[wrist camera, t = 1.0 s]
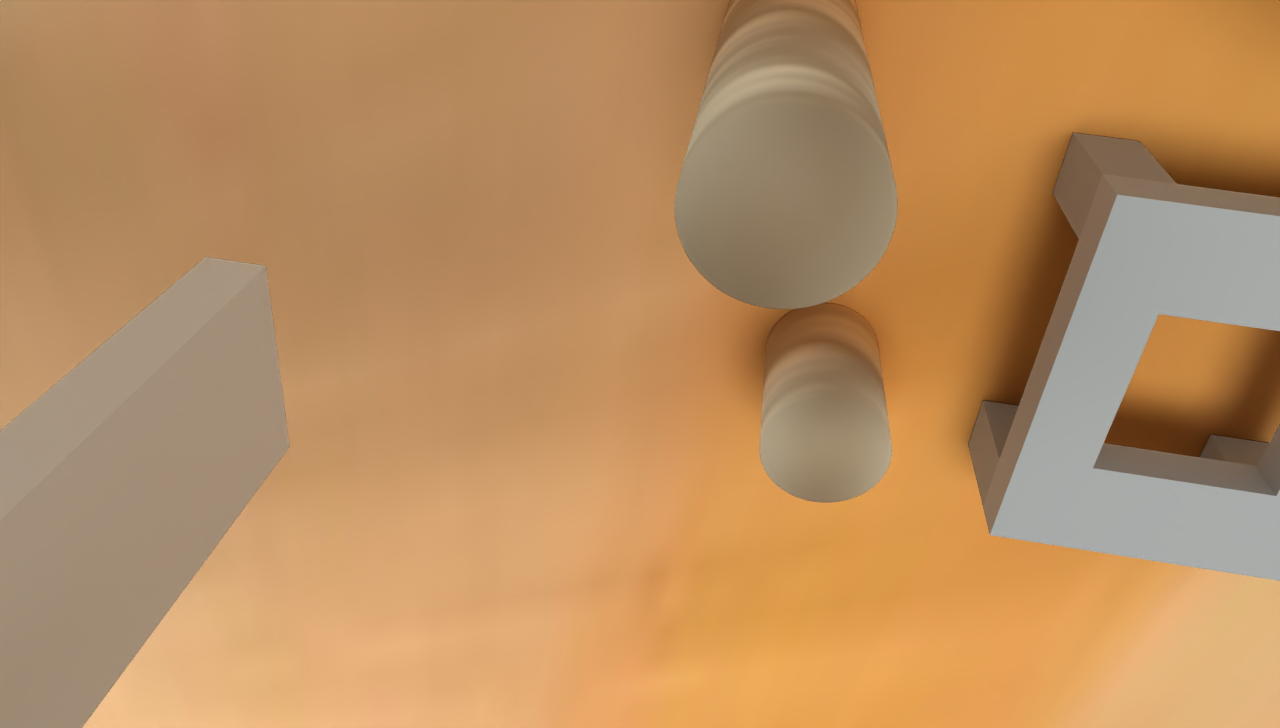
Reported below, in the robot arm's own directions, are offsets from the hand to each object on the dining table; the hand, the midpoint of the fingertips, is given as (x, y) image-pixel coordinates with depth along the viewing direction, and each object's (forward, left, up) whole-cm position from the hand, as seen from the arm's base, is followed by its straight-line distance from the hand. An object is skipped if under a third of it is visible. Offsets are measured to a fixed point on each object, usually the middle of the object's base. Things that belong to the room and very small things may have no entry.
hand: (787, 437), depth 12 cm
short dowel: (+3, -11, -21) cm, 24 cm away
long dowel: (0, 0, -21) cm, 21 cm away
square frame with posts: (+14, -8, -21) cm, 26 cm away
